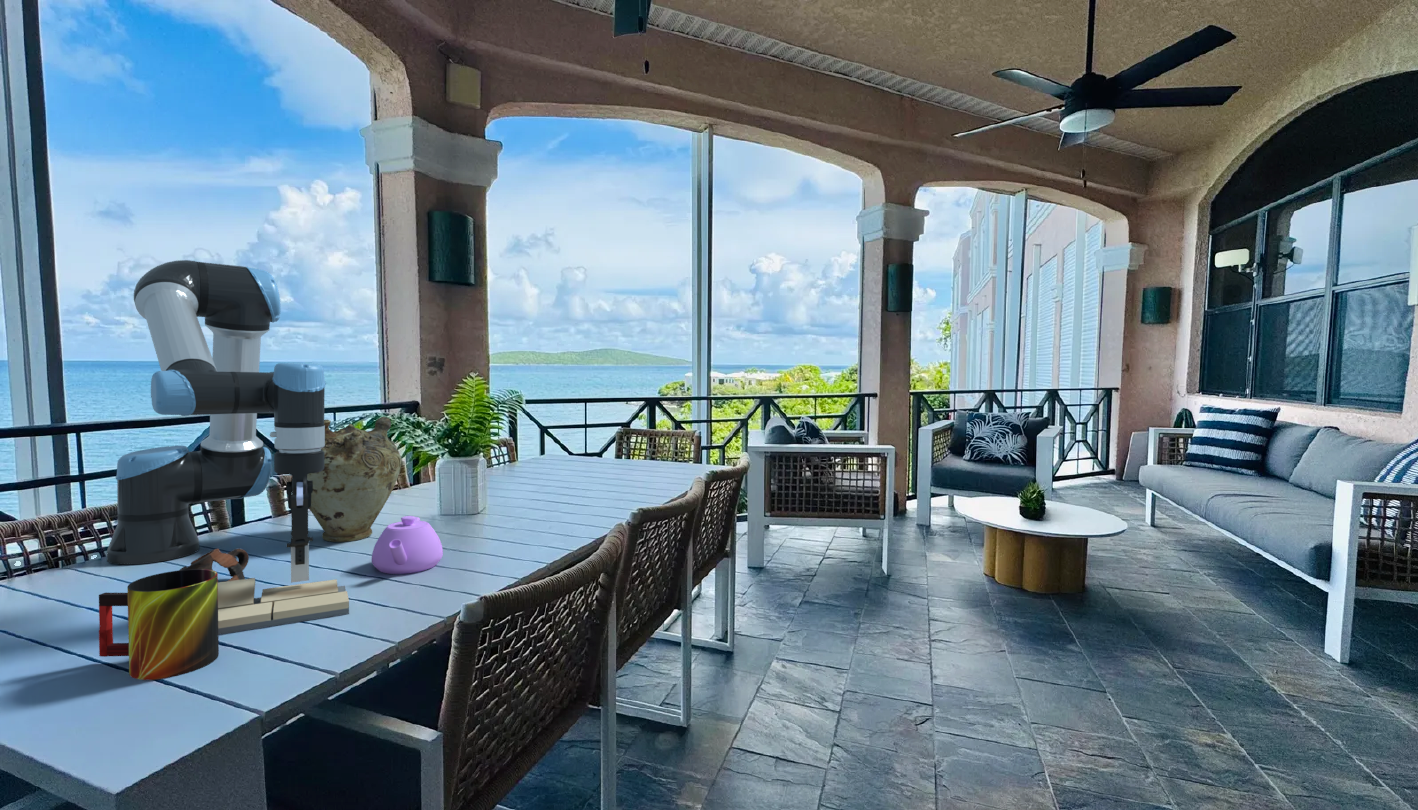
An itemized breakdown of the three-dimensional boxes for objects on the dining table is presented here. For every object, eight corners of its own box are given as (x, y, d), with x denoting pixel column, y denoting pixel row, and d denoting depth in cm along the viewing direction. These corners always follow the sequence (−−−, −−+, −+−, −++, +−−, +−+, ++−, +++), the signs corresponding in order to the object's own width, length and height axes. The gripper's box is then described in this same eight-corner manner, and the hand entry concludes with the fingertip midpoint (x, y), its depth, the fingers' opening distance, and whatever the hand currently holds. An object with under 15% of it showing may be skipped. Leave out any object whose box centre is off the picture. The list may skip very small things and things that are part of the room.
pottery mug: (225, 599, 114) (195, 563, 112) (186, 617, 116) (157, 582, 114) (272, 563, 126) (246, 530, 124) (236, 580, 127) (210, 548, 125)
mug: (101, 662, 89) (99, 578, 88) (224, 643, 95) (223, 565, 95) (75, 693, 80) (72, 601, 80) (211, 670, 87) (210, 585, 86)
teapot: (356, 584, 123) (356, 530, 122) (384, 555, 142) (384, 508, 142) (432, 580, 126) (432, 528, 125) (449, 552, 145) (449, 506, 145)
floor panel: (164, 616, 105) (164, 603, 105) (344, 590, 119) (344, 579, 119) (148, 645, 94) (148, 631, 94) (349, 613, 108) (349, 601, 108)
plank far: (262, 595, 112) (262, 589, 111) (336, 585, 118) (336, 579, 118) (260, 609, 106) (260, 602, 106) (338, 597, 112) (338, 591, 112)
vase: (394, 543, 147) (381, 415, 146) (283, 556, 142) (268, 425, 141) (418, 522, 170) (407, 411, 168) (323, 533, 165) (310, 419, 164)
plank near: (171, 593, 105) (170, 588, 104) (255, 583, 111) (254, 577, 110) (165, 621, 100) (164, 615, 99) (253, 608, 106) (252, 603, 106)
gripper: (275, 446, 115) (276, 572, 117) (272, 456, 104) (273, 595, 106) (323, 444, 119) (323, 566, 121) (325, 454, 108) (325, 588, 110)
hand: (300, 579), depth 113 cm, fingers closed
